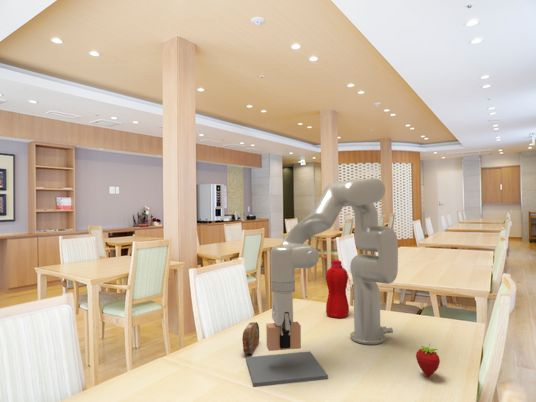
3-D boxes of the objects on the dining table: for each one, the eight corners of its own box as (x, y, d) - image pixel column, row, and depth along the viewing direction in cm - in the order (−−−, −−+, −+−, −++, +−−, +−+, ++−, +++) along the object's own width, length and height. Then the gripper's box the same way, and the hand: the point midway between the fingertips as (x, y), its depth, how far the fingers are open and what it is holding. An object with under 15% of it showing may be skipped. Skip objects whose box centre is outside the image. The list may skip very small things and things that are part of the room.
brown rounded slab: (250, 358, 125) (249, 333, 125) (241, 357, 126) (240, 332, 126) (260, 341, 140) (259, 319, 140) (252, 341, 141) (251, 318, 141)
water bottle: (347, 320, 162) (346, 262, 162) (323, 316, 168) (322, 261, 168) (354, 314, 170) (353, 259, 170) (332, 311, 176) (331, 258, 176)
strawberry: (428, 369, 114) (428, 337, 114) (445, 381, 107) (444, 346, 107) (411, 372, 113) (410, 339, 113) (427, 384, 106) (426, 348, 106)
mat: (310, 354, 127) (310, 351, 127) (327, 378, 110) (327, 375, 110) (245, 360, 123) (245, 357, 123) (253, 386, 106) (253, 383, 106)
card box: (266, 346, 118) (266, 323, 118) (297, 343, 119) (297, 321, 119) (268, 350, 114) (268, 327, 114) (300, 348, 115) (300, 325, 115)
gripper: (266, 281, 124) (266, 336, 124) (276, 293, 108) (276, 356, 108) (288, 280, 125) (288, 335, 125) (301, 291, 109) (302, 354, 109)
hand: (283, 344), depth 116 cm, fingers closed on card box, 4 cm apart
